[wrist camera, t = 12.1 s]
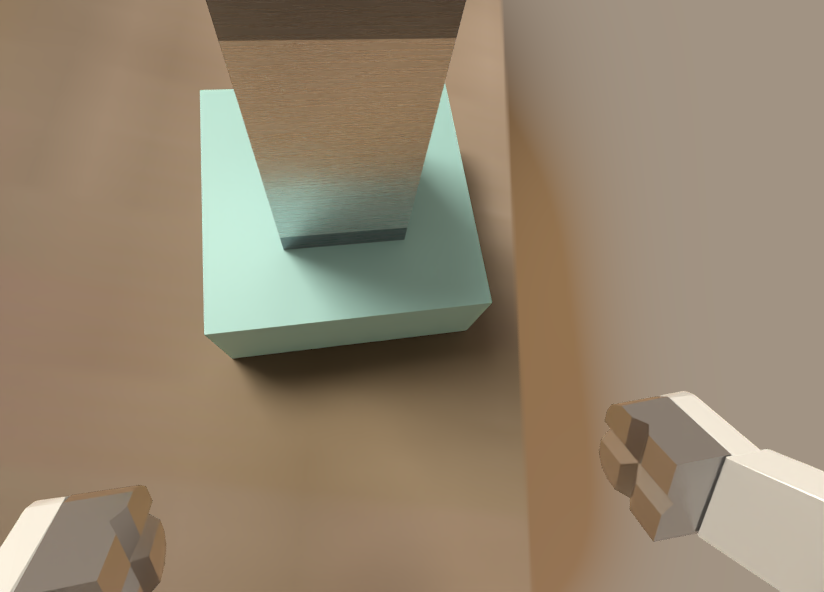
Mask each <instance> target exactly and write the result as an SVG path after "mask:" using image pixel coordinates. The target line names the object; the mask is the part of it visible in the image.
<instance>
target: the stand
mask: <svg viewBox="0 0 824 592" xmlns="http://www.w3.org/2000/svg"><path fill="white" fill-rule="evenodd" d="M200 119H201V176H202V232H203V289H204V335H205V336H206V337H208V338H209V339H210V340H211V341H212V342H213V343H215V344H216V345H217V346H218V347H219V348H221V349H222V350H223V351H224V352H225V353H226V354H228V355H229V356H230V357H231V358H232V359H233V358H241V357H250V356H258V355H266V354H275V353H283V352H291V351H300V350H308V349H316V348H325V347H333V346H341V345H350V344H358V343H366V342H374V341H383V340H391V339H399V338H408V337H416V336H424V335H433V334H441V333H449V332H458V331H466V330H467V329H468V328H469V327H470V326H471V325H472V324H473V323H474V322H475V321H476V320H477V319H478V317H479V316H480V315H481V314H482V313H483V312H484V311H485V310H486V309H487V308H488V307H489V306H490V305H491V304H492V299H491V295H490V290H489V285H488V281H487V276H486V271H485V267H484V262H483V257H482V253H481V248H480V243H479V239H478V234H477V229H476V225H475V220H474V215H473V211H472V206H471V202H470V197H469V192H468V188H467V183H466V178H465V174H464V169H463V164H462V160H461V155H460V150H459V146H458V141H457V136H456V132H455V127H454V122H453V118H452V113H451V108H450V104H449V99H448V94H447V90H446V85H445V84H444V88H443V91H442V95H441V99H440V103H439V107H438V111H437V115H436V119H435V123H434V126H433V130H432V134H431V138H430V142H429V146H428V150H427V154H426V157H425V161H424V165H423V169H422V173H421V177H420V181H419V185H418V188H417V192H416V196H415V200H414V204H413V208H412V212H411V216H410V220H409V223H408V227H407V231H406V235H405V239H404V240H395V241H383V242H372V243H360V244H348V245H336V246H324V247H313V248H301V249H289V250H283V246H282V243H281V240H280V237H279V233H278V230H277V227H276V224H275V221H274V217H273V214H272V211H271V208H270V205H269V201H268V198H267V195H266V192H265V188H264V185H263V182H262V179H261V176H260V172H259V169H258V166H257V163H256V160H255V156H254V153H253V150H252V147H251V144H250V140H249V137H248V134H247V131H246V127H245V124H244V121H243V118H242V115H241V111H240V108H239V105H238V102H237V99H236V95H235V92H234V89H224V90H200Z"/></svg>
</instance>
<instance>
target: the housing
mask: <svg viewBox="0 0 824 592" xmlns="http://www.w3.org/2000/svg"><path fill="white" fill-rule="evenodd" d="M206 2H207V5H208V9H209V12H210V15H211V18H212V21H213V25H214V28H215V31H216V34H217V37H218V41H219V44H220V47H221V50H222V54H223V57H224V60H225V63H226V66H227V70H228V73H229V76H230V79H231V82H232V86H233V89H234V92H235V95H236V99H237V102H238V105H239V108H240V111H241V115H242V118H243V121H244V124H245V127H246V131H247V134H248V137H249V140H250V144H251V147H252V150H253V153H254V156H255V160H256V163H257V166H258V169H259V172H260V176H261V179H262V182H263V185H264V188H265V192H266V195H267V198H268V201H269V205H270V208H271V211H272V214H273V217H274V221H275V224H276V227H277V230H278V233H279V237H280V240H281V243H282V246H283V250H289V249H301V248H313V247H324V246H336V245H348V244H360V243H372V242H383V241H395V240H404V239H405V235H406V231H407V227H408V223H409V220H410V216H411V212H412V208H413V204H414V200H415V196H416V192H417V188H418V185H419V181H420V177H421V173H422V169H423V165H424V161H425V157H426V154H427V150H428V146H429V142H430V138H431V134H432V130H433V126H434V123H435V119H436V115H437V111H438V107H439V103H440V99H441V95H442V91H443V88H444V84H445V80H446V76H447V72H448V68H449V64H450V60H451V57H452V53H453V49H454V45H455V41H456V37H457V33H458V29H459V26H460V22H461V18H462V14H463V10H464V6H465V2H466V0H206Z"/></svg>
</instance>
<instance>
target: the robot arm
mask: <svg viewBox="0 0 824 592" xmlns="http://www.w3.org/2000/svg"><path fill="white" fill-rule="evenodd" d="M605 422H606V423H607V425H608V426H609V428H610V429H609V431H608V432H607V433H606V434H605V435H604V436H603V437H602V439H601V443H600V450H599V455H600V460H601V465H602V468H603V471H604V473H605V475H606V477H607V479H608V480H609V482H610V483H611V484H612V486H613V487H614V489H615V490H617V491H619V492H620V493H622V494H624V495H626V496H628V497H629V498H630V511H631V512H632V513H633V515H634V516H635V517H636V519H637V520H638V522H639V523H640V524H641V526H642V527H643V528H644V530H645V531H646V532H647V533H648V535H649V536H650V538H651V539H652V540H653V541H654V542H655V541H660V540H665V539H670V538H675V537H680V536H686V535H691V534H696V533H698V537H700V538H701V539H703V540H704V541H706V542H707V543H709V544H710V545H712V546H713V547H715V548H716V549H718V550H719V551H721V552H722V553H724V554H725V555H727V556H728V557H730V558H731V559H733V560H734V561H736V562H737V563H739V564H740V565H742V566H743V567H745V568H746V569H748V570H749V571H751V572H752V573H754V574H755V575H756V576H758V577H759V578H761V579H762V580H764V581H765V582H767V583H768V584H770V585H771V586H773V587H774V588H776V589H777V590H779V591H780V592H824V471H822V470H819V469H817V468H814V467H812V466H809V465H807V464H804V463H801V462H799V461H797V460H794V459H792V458H789V457H787V456H784V455H782V454H779V453H777V452H774V451H772V450H769V449H765V450H760V449H758V448H757V447H756V446H755V445H753V444H752V443H751V442H750V441H749V440H748V439H746V438H745V437H744V436H743V435H741V434H740V433H739V432H738V431H737V430H736V429H734V428H733V427H732V426H731V425H729V423H727V422H726V421H725V420H724V419H723V418H721V417H720V416H719V415H718V414H717V413H716V412H714V411H713V410H712V409H711V408H710V407H708V406H707V405H706V404H705V403H704V402H702V401H701V400H700V399H699V398H697V397H696V396H695V395H694V394H692V393H689V392H687V391H682V392H676V393H671V394H665V395H661V396H655V397H650V398H644V399H638V400H633V401H627V402H622V403H617V404H612V405H611V406H610V407H609V409H608V410H607V413H606V417H605ZM152 501H153V500H152V498H151V496H150V494H149V492H148V489H147V487H146V486H142V485H136V486H129V487H122V488H116V489H109V490H102V491H95V492H88V493H82V494H75V495H71V496H66V497H59V498H52V499H45V500H38V501H35V502H34V503H32V504H31V505H30V506H28V507H27V508H26V509H25V510H24V511H23V513H22V514H21V516H20V517H19V519H18V521H17V522H16V524H15V525H14V527H13V528H12V530H11V532H10V533H9V535H8V536H7V538H6V540H5V541H4V543H3V544H2V546H1V547H0V592H152V591H153V590H154V589H155V587H156V586H157V585H158V584H159V583H160V581H161V577H162V573H163V569H164V565H165V555H166V539H165V532H164V529H163V526H162V523H161V521H160V519H158V518H156V517H154V516H153V515H151V514H149V510H150V507H151V504H152Z"/></svg>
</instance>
